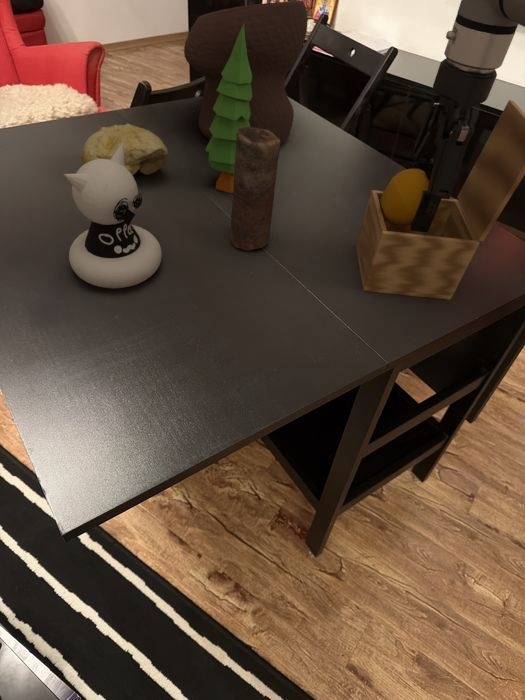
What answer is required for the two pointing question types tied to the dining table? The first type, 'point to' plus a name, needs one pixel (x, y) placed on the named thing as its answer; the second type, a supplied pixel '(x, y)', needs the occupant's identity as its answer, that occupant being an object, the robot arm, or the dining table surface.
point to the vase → (250, 59)
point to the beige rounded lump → (127, 147)
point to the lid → (495, 172)
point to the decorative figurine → (111, 226)
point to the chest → (415, 252)
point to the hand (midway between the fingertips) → (413, 215)
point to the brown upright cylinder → (253, 187)
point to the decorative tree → (230, 113)
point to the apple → (404, 196)
